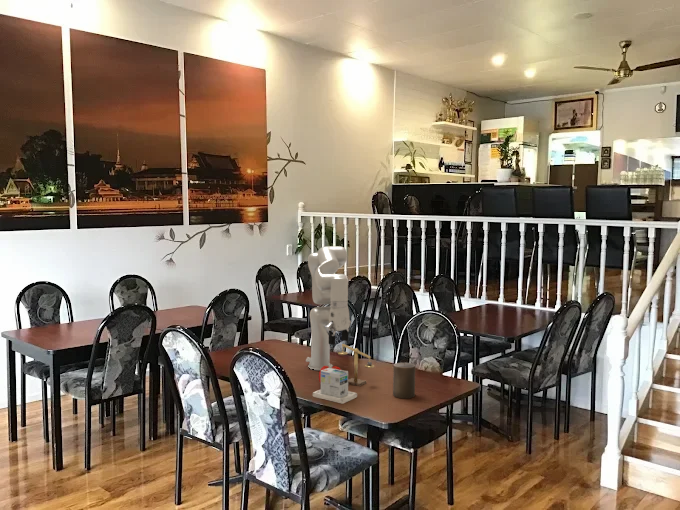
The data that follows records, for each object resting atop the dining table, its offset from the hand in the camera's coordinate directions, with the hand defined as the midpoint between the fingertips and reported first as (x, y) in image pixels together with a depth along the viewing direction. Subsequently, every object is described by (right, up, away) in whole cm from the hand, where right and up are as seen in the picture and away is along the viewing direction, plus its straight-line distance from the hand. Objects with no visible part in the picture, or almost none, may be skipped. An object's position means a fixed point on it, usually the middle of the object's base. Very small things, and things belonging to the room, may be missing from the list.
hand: (338, 342), depth 264 cm
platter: (-2, -23, -3) cm, 24 cm away
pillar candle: (+29, -24, 0) cm, 37 cm away
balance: (+8, -22, +17) cm, 29 cm away
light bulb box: (-2, -23, -4) cm, 23 cm away
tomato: (-4, -22, +13) cm, 26 cm away
